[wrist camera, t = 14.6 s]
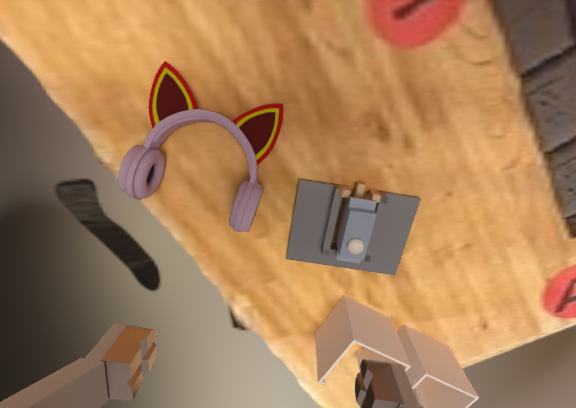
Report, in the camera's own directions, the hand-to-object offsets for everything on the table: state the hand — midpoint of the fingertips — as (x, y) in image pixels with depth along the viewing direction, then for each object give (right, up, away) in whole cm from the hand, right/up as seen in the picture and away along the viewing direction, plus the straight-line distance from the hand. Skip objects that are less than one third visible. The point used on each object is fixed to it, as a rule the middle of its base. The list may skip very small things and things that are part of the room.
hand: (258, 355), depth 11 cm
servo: (+12, +3, +38) cm, 40 cm away
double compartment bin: (+20, -22, +48) cm, 56 cm away
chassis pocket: (+12, +2, +39) cm, 40 cm away
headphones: (-11, +15, +35) cm, 40 cm away
